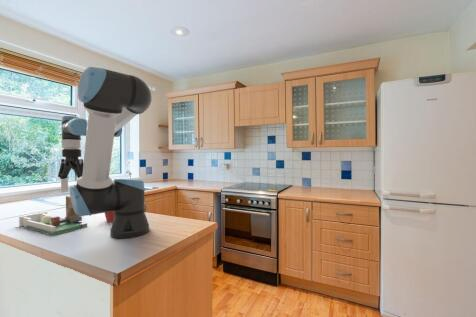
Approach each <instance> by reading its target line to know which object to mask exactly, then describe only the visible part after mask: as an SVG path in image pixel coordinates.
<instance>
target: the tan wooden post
mask: <svg viewBox="0 0 476 317" xmlns="http://www.w3.org/2000/svg"><path fill="white" fill-rule="evenodd" d="M51 217H52V216H51ZM60 218H61V217H60V216H53V217H52V218H51V226H57V225H60V223H64V222H70V223H74V222H78V221H79V222H83V216H78V215H76V213H75V212H74V209H73V206H72V203H71V197H70V195H68V196H67V195H66V196H65V217H64V219H63V220H60Z"/></svg>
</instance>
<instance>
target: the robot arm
mask: <svg viewBox="0 0 476 317" xmlns="http://www.w3.org/2000/svg"><path fill="white" fill-rule="evenodd" d="M77 99H78V101H79V102H81V103H82V104H83V105H82V107H83V108H84V110H85V111H86V112H87V119H86V118H83V117H79V116H77V115H63V116H62V117H61V122H60V125H61V148H62V150H61V152H62V154H61V156H62V157H63V158H61V159H60V161H61V162H60V166H59V171H58V174H57V177H58V178H59V179H60V192H61V193H68V192H69V196H70V197H71V203H72V206H73V209H74V212H75V213H76V215H78V216H82V217H86V216H89V217H90V216H94V215H98V214H103V213H104V214H105V212H111V211H115V218H114V221H113V222H112V225H111V227H110V230H109V231H110V237H112V238H114V239H130V238H136V237H139V236H143V235H145V234H147V233H149V231H150V224H149V221H148V218H147V215H146V212H145V204H146V203H145V200H146V199H145V194H146V193H145V191H146V190H145V183H144V181H143V180H141V179H139V178H138V179H136V178H122V177H121V178H120V177H119V178H117V177H116V178H114V180H113V179H112V178H111V177H110V171H111V164H112V163H111V162H112V156H113V148H114V139H115V138H119V137H121V135H122V132H123V127H125V126H126V125H127V124H128V123H129V122H130V121H132V120H133V119H134V118H135V117H137V115H141V114H143V113H145V112H146V111H147V110H148V109H149V107H150V105H151V103H152V93H151V90H150V88H149V86H148V84H147V83H146V82H145V81H144V80H142V79H141V78H140V77H137V76H135V75H132V74H126V73H122V72H118V71H114V70H112V69H111V70H110V69H107V68H105V67H104V68H102V67H95V66H88V67H86V68H85V69H84V70H83V72H82V74H81V75H80V78H79V80H78V87H77ZM83 136H84V137H85V142H84V151H83V152H84V153H83V158H81V157H82V137H83ZM71 170H73V172H74V173H75V174H74V175H75V176H76V178H77V179H76V184H73V185H71V186H70V187H69V177H68V176H69V174H70V171H71Z"/></svg>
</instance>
